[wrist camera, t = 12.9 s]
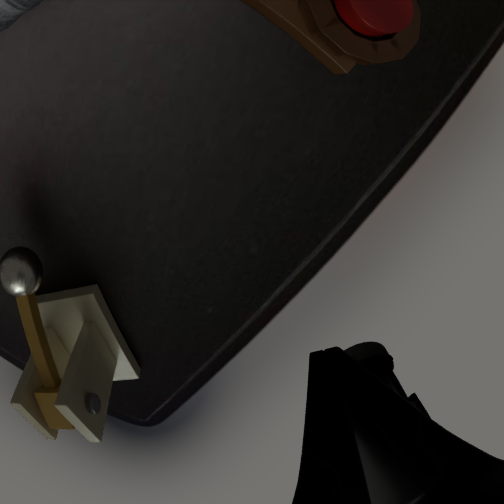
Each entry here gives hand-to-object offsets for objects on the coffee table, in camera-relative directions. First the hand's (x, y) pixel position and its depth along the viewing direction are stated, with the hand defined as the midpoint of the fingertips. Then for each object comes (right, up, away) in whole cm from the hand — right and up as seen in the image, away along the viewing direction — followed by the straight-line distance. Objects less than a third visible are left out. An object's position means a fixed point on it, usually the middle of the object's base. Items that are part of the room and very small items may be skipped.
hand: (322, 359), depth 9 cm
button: (+4, +15, +3) cm, 16 cm away
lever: (-16, -2, +9) cm, 18 cm away
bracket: (-16, -4, +14) cm, 21 cm away
